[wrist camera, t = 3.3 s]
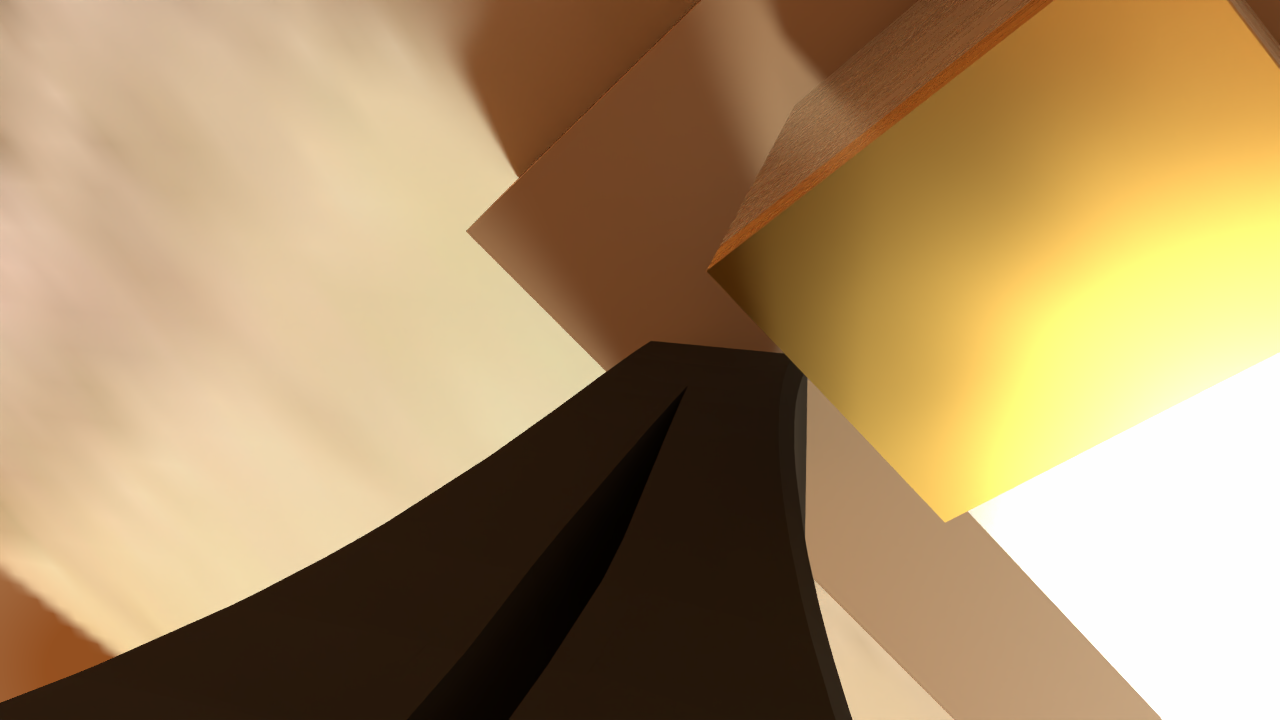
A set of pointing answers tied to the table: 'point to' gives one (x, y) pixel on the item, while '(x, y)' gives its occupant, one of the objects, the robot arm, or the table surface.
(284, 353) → the table surface
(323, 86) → the table surface
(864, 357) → the lock bar
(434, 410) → the table surface
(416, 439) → the table surface
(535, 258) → the door board
